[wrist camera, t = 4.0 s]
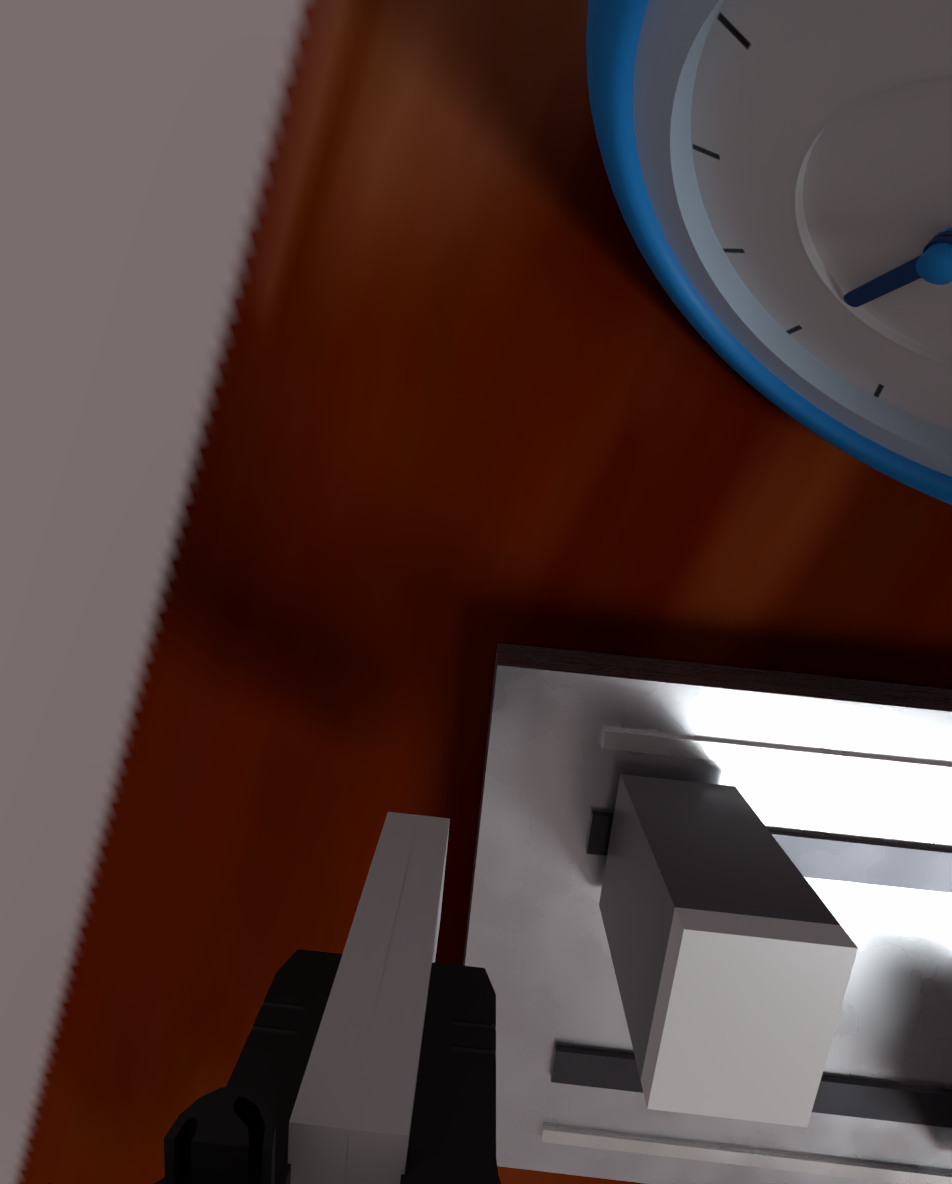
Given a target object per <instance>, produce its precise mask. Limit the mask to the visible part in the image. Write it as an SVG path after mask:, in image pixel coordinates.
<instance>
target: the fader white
mask: <svg viewBox="0 0 952 1184" xmlns="http://www.w3.org/2000/svg"><path fill="white" fill-rule="evenodd" d="M599 907H600V911H601V915H602V920H603V924H604V928H605V932H606V937H607V941H608V945H609V949H610V954H611V958H612V962H613V966H614V970H615V975H616V979H617V983H618V987H619V992H620V996H621V1000H622V1004H623V1009H624V1013H625V1017H626V1021H627V1026H628V1030H629V1034H630V1038H631V1042H632V1047H633V1051H634V1055H635V1059H636V1064H637V1068H638V1072H639V1076H640V1081H641V1085H642V1089H643V1093H644V1098H645V1102H646V1106H647V1109H652V1110H661V1111H670V1112H679V1113H687V1114H696V1115H705V1116H713V1117H722V1118H731V1119H739V1120H748V1121H757V1122H765V1123H774V1124H783V1125H791V1126H800V1127H807V1126H808V1123H809V1119H810V1116H811V1112H812V1109H813V1105H814V1102H815V1098H816V1095H817V1091H818V1088H819V1084H820V1081H821V1077H822V1074H823V1070H824V1067H825V1063H826V1060H827V1056H828V1053H829V1049H830V1046H831V1042H832V1039H833V1035H834V1032H835V1028H836V1025H837V1021H838V1018H839V1014H840V1011H841V1007H842V1004H843V1000H844V996H845V993H846V989H847V986H848V982H849V979H850V975H851V972H852V968H853V965H854V961H855V958H856V954H857V951H858V947H857V946H856V945H855V943H854V942H853V941H852V940H851V938H850V937H849V936H848V934H847V933H846V932H845V930H844V929H843V928H842V926H841V925H840V924H839V922H838V921H837V920H836V918H835V917H834V916H833V914H832V913H831V912H830V911H829V909H828V908H827V907H826V905H825V904H824V903H823V901H822V900H821V899H820V897H819V896H818V895H817V893H816V892H815V891H814V889H813V888H812V887H811V886H810V884H809V883H808V882H807V880H806V879H805V878H804V876H803V875H802V874H801V872H800V871H799V870H798V868H797V867H796V866H795V864H794V863H793V862H792V861H791V859H790V858H789V857H788V855H787V854H786V853H785V851H784V850H783V849H782V847H781V846H780V845H779V843H778V842H777V841H776V839H775V838H774V837H773V835H772V834H771V833H770V832H769V830H768V829H767V828H766V826H765V825H764V824H763V822H762V821H761V820H760V818H759V817H758V816H757V814H756V813H755V812H754V810H753V809H752V808H751V807H750V805H749V804H748V803H747V801H746V800H745V799H744V797H743V796H742V795H741V793H740V792H739V791H738V789H737V788H736V787H735V786H728V785H719V784H709V783H700V782H690V781H681V780H671V779H662V778H652V777H643V776H633V775H624V774H620V780H619V786H618V792H617V798H616V804H615V810H614V816H613V822H612V828H611V834H610V841H609V847H608V853H607V859H606V865H605V871H604V877H603V883H602V889H601V895H600V901H599Z"/></svg>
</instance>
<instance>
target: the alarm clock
mask: <svg viewBox="0 0 952 1184" xmlns="http://www.w3.org/2000/svg"><path fill="white" fill-rule="evenodd" d="M586 64H587V81H588V90H589V98H590V107H591V112H592V117H593V123H594V128H595V133H596V138H597V141H598V145H599V149H600V152H601V156H602V160H603V164H604V167H605V170H606V173H607V176H608V179H609V182H610V185H611V188H612V191H613V194H614V197H615V199H616V201H617V204H618V206H619V209H620V211H621V213H622V216H623V218H624V221H625V223H626V225H627V227H628V229H629V231H630V233H631V235H632V237H633V239H634V241H635V243H636V245H637V246H638V248H639V250H640V252H641V254H642V255H643V257H644V259H645V261H646V262H647V264H648V266H649V267H650V269H651V270H652V272H653V274H654V275H655V277H656V278H657V280H658V281H659V283H660V284H661V286H662V287H663V289H664V290H665V291H666V293H667V294H668V296H669V297H670V299H671V300H672V301H673V303H674V304H675V305H676V307H677V308H678V309H679V310H680V312H681V313H682V314H683V315H684V317H685V318H686V319H687V320H688V322H689V323H690V324H691V325H692V326H693V327H694V329H695V330H696V331H697V332H698V333H699V334H700V336H701V337H702V338H703V339H704V340H705V341H706V342H707V343H708V344H709V345H710V346H711V347H712V348H713V350H714V351H715V352H716V353H717V354H718V355H719V356H720V357H721V358H722V359H723V360H724V361H725V362H726V363H727V364H728V365H729V366H731V367H732V368H733V369H734V370H735V371H736V372H737V373H738V374H739V375H740V376H741V377H742V378H744V379H745V380H746V381H747V382H748V383H749V384H750V385H751V386H752V387H754V388H755V389H756V390H757V391H758V392H760V393H761V394H762V395H763V396H765V397H766V398H767V399H768V400H769V401H771V402H772V403H773V404H774V405H776V406H777V407H778V408H780V409H781V410H782V411H784V412H785V413H786V414H788V415H789V416H790V417H792V418H793V419H795V420H796V421H797V422H799V423H800V424H802V425H803V426H804V427H806V428H807V429H809V430H810V431H812V432H813V433H815V434H816V435H818V436H819V437H821V438H822V439H824V440H826V441H827V442H829V443H830V444H832V445H833V446H835V447H837V448H838V449H840V450H842V451H843V452H845V453H847V454H848V455H850V456H852V457H854V458H855V459H857V460H859V461H861V462H863V463H864V464H866V465H868V466H870V467H872V468H874V469H875V470H877V471H879V472H881V473H883V474H885V475H887V476H889V477H891V478H893V479H895V480H897V481H899V482H901V483H903V484H905V485H907V486H910V487H912V488H914V489H916V490H918V491H920V492H923V493H925V494H927V495H929V496H932V497H934V498H936V499H939V500H941V501H944V502H946V503H949V504H951V505H952V0H588V8H587V28H586Z"/></svg>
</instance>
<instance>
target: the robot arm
mask: <svg viewBox="0 0 952 1184" xmlns="http://www.w3.org/2000/svg"><path fill="white" fill-rule="evenodd" d="M449 824H450V818H440V817H431V816H421V815H412V814H403V813H393V812H388V813H387V816H386V819H385V823H384V826H383V829H382V832H381V835H380V838H379V841H378V845H377V848H376V851H375V854H374V857H373V860H372V863H371V867H370V870H369V873H368V876H367V879H366V882H365V885H364V889H363V892H362V895H361V898H360V901H359V904H358V907H357V910H356V914H355V917H354V920H353V923H352V926H351V929H350V932H349V936H348V939H347V942H346V945H345V948H344V951H343V954H336V953H326V952H317V951H308V950H299V949H298V950H297V951H296V952H295V953H294V954H293V955H292V956H291V957H290V959H289V960H288V961H287V962H286V963H285V964H284V965H283V966H282V967H281V968H280V969H279V970H278V971H277V972H276V975H275V977H274V979H273V982H272V984H271V986H270V988H269V991H268V993H267V995H266V997H265V1000H264V1004H263V1006H262V1007H261V1009H260V1011H259V1013H258V1016H257V1018H256V1020H255V1022H254V1025H253V1029H252V1031H251V1032H250V1034H249V1036H248V1038H247V1041H246V1043H245V1045H244V1047H243V1050H242V1052H241V1054H240V1057H239V1059H238V1061H237V1063H236V1066H235V1068H234V1070H233V1073H232V1075H231V1077H230V1079H229V1082H228V1084H227V1086H226V1087H223V1088H220V1089H217V1090H215V1091H213V1092H211V1093H209V1094H207V1095H204V1096H202V1097H200V1098H199V1099H198V1100H196V1101H195V1102H194V1103H193V1104H192V1105H191V1106H190V1107H188V1108H187V1109H186V1110H185V1111H184V1112H183V1113H181V1114H180V1115H179V1117H178V1118H177V1120H176V1121H175V1123H174V1124H173V1126H172V1127H171V1128H170V1130H169V1131H168V1133H167V1134H166V1136H165V1137H164V1156H165V1177H164V1178H163V1179H161V1180H160V1181H158V1182H156V1183H155V1184H501V1183H500V1179H499V1176H498V1170H497V1160H496V993H495V991H494V989H493V986H492V984H491V981H490V979H489V977H488V974H487V972H486V969H485V968H480V967H471V966H462V965H453V964H444V963H435V957H436V949H437V941H438V933H439V925H440V917H441V907H442V897H443V886H444V876H445V865H446V855H447V845H448V834H449ZM49 1184H50V1183H49Z"/></svg>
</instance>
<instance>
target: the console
mask: <svg viewBox="0 0 952 1184" xmlns="http://www.w3.org/2000/svg"><path fill="white" fill-rule="evenodd" d="M620 774H624V775H633V776H643V777H652V778H662V779H671V780H681V781H690V782H700V783H709V784H719V785H728V786H735V787H736V788H737V789H738V791H739V792H740V793H741V795H742V796H743V797H744V799H745V800H746V801H747V803H748V804H749V805H750V807H751V808H752V809H753V810H754V812H755V813H756V814H757V816H758V817H759V818H760V820H761V821H762V822H763V824H764V825H765V826H766V828H767V829H768V830H769V832H770V833H771V834H772V835H773V837H774V838H775V839H776V841H777V842H778V843H779V845H780V846H781V847H782V849H783V850H784V851H785V853H786V854H787V855H788V857H789V858H790V859H791V861H792V862H793V863H794V864H795V866H796V867H797V868H798V870H799V871H800V872H801V874H802V875H803V876H804V878H805V879H806V880H807V882H808V883H809V884H810V886H811V887H812V888H813V889H814V891H815V892H816V893H817V895H818V896H819V897H820V899H821V900H822V901H823V903H824V904H825V905H826V907H827V908H828V909H829V911H830V912H831V913H832V914H833V916H834V917H835V918H836V920H837V921H838V922H839V924H840V925H841V926H842V928H843V929H844V930H845V932H846V933H847V934H848V936H849V937H850V938H851V940H852V941H853V942H854V943H855V945H856V946H857V947H858V951H857V954H856V958H855V961H854V965H853V968H852V972H851V975H850V979H849V982H848V986H847V989H846V993H845V996H844V1000H843V1004H842V1007H841V1011H840V1014H839V1018H838V1021H837V1025H836V1028H835V1032H834V1035H833V1039H832V1042H831V1046H830V1049H829V1053H828V1056H827V1060H826V1063H825V1067H824V1070H823V1074H822V1077H821V1081H820V1084H819V1088H818V1091H817V1095H816V1098H815V1102H814V1105H813V1109H812V1112H811V1116H810V1119H809V1123H808V1126H807V1127H800V1126H791V1125H783V1124H774V1123H765V1122H757V1121H748V1120H739V1119H731V1118H722V1117H713V1116H705V1115H696V1114H687V1113H679V1112H670V1111H661V1110H652V1109H647V1106H646V1102H645V1098H644V1093H643V1089H642V1085H641V1081H640V1076H639V1072H638V1068H637V1064H636V1059H635V1055H634V1051H633V1047H632V1042H631V1038H630V1034H629V1030H628V1026H627V1021H626V1017H625V1013H624V1009H623V1004H622V1000H621V996H620V992H619V987H618V983H617V979H616V975H615V970H614V966H613V962H612V958H611V954H610V949H609V945H608V941H607V937H606V932H605V928H604V924H603V920H602V915H601V911H600V907H599V901H600V895H601V889H602V883H603V877H604V871H605V865H606V859H607V853H608V847H609V841H610V834H611V828H612V822H613V816H614V810H615V804H616V798H617V792H618V786H619V780H620ZM463 966H471V967H480V968H485V969H486V972H487V974H488V977H489V979H490V981H491V984H492V986H493V989H494V991H495V993H496V1160H497V1166H501V1167H510V1168H519V1169H527V1170H536V1171H544V1172H553V1173H561V1174H570V1175H578V1176H587V1177H595V1178H604V1179H612V1180H621V1181H629V1182H638V1183H646V1184H952V689H947V688H938V687H928V686H918V685H908V684H898V683H889V682H879V681H869V680H859V679H850V678H840V677H830V676H820V675H810V674H801V673H791V672H781V671H771V670H762V669H752V668H742V667H732V666H722V665H713V664H703V663H693V662H683V661H674V660H664V659H654V658H644V657H634V656H625V655H615V654H605V653H595V652H586V651H576V650H566V649H556V648H546V647H537V646H527V645H517V644H507V643H498V642H497V651H496V660H495V669H494V678H493V688H492V697H491V706H490V715H489V725H488V734H487V743H486V753H485V762H484V771H483V780H482V790H481V799H480V808H479V817H478V827H477V836H476V845H475V855H474V864H473V873H472V882H471V892H470V901H469V910H468V919H467V929H466V938H465V947H464V957H463Z"/></svg>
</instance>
